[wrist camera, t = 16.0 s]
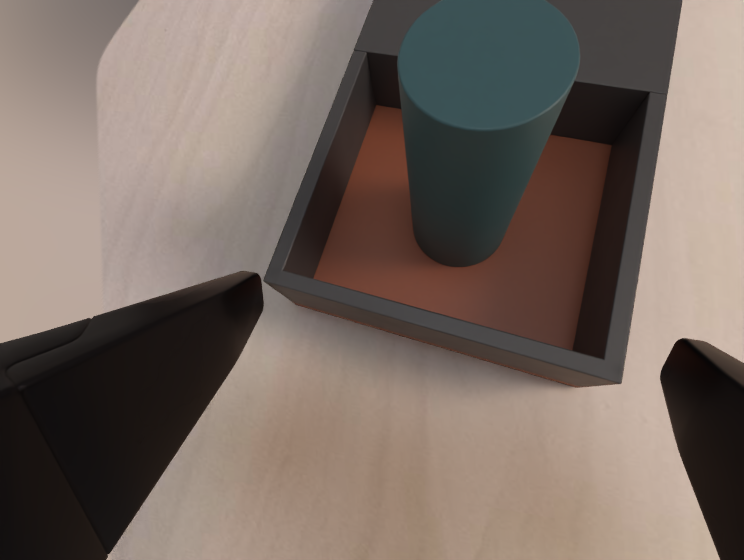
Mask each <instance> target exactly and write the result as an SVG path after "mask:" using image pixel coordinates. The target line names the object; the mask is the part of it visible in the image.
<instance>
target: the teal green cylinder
mask: <svg viewBox="0 0 744 560" xmlns="http://www.w3.org/2000/svg"><path fill="white" fill-rule="evenodd" d="M579 64H580V48H579V43H578V39H577V35H576V33H575V31H574V29H573V27H572V25H571V24H570V22H569V21H568V19H567V18H566V17H565V16H564V15H563V14H562V13H561V12H560V11H559V10H558V9H557V8H556V7H554V6H553V5H552V4H550V3H549V2H547V1H545V0H441V1H439V2H438V3H436V4H435V5H433V6H431V7H430V8H429V9H427V10H426V11H425V12H424V13H422V14H421V15H420V16H419V17H418V18H417V19H416V20H415V21H414V23H413V24H412V25H411V27H410V28H409V29H408V31H407V33H406V34H405V36H404V38H403V41H402V43H401V46H400V49H399V53H398V60H397V69H398V80H399V90H400V100H401V110H402V121H403V131H404V141H405V151H406V161H407V171H408V182H409V192H410V202H411V212H412V222H413V232H414V236H415V239H416V241H417V243H418V245H419V247H420V248H421V249H422V251H423V252H424V253H425V254H426V255H427V256H429V257H430V258H431V259H433V260H434V261H436V262H438V263H441V264H443V265H447V266H452V267H466V266H471V265H475V264H478V263H480V262H482V261H484V260H485V259H487V258H488V257H490V256H491V255H492V254H493V253H494V252H495V251H496V250H497V249H498V247H499V246H500V244H501V242H502V240H503V237H504V235H505V233H506V231H507V229H508V226H509V224H510V222H511V220H512V218H513V215H514V213H515V211H516V209H517V207H518V204H519V202H520V200H521V198H522V196H523V193H524V191H525V189H526V187H527V185H528V182H529V180H530V178H531V176H532V173H533V171H534V169H535V167H536V165H537V162H538V160H539V158H540V156H541V154H542V151H543V149H544V147H545V145H546V143H547V140H548V138H549V136H550V134H551V132H552V129H553V127H554V125H555V123H556V121H557V118H558V116H559V114H560V112H561V109H562V107H563V105H564V103H565V101H566V98H567V96H568V94H569V92H570V90H571V87H572V85H573V83H574V81H575V79H576V76H577V73H578V69H579Z"/></svg>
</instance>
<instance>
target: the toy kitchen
mask: <svg viewBox="0 0 744 560" xmlns="http://www.w3.org/2000/svg"><path fill="white" fill-rule="evenodd" d="M439 1H441V0H373V3H372V5H371V8H370V10H369V13H368V15H367V18H366V20H365V23H364V25H363V28H362V31H361V33H360V36H359V38H358V41H357V43H356V46H355V48H354V51H353V54H352V56H351V59H350V62H349V64H348V67H347V69H346V72H345V74H344V77H343V79H342V82H341V84H340V87H339V89H338V92H337V95H336V97H335V100H334V102H333V105H332V107H331V110H330V112H329V115H328V117H327V120H326V122H325V125H324V127H323V130H322V133H321V135H320V138H319V140H318V143H317V145H316V148H315V150H314V153H313V155H312V158H311V160H310V163H309V166H308V168H307V171H306V173H305V176H304V178H303V181H302V183H301V186H300V188H299V191H298V193H297V196H296V198H295V201H294V204H293V206H292V209H291V211H290V214H289V216H288V219H287V221H286V224H285V226H284V229H283V231H282V234H281V237H280V239H279V242H278V244H277V247H276V249H275V252H274V254H273V257H272V259H271V262H270V264H269V267H268V269H267V272H266V275H265V277H264V280H263V281H264V282H265V283H267V284H268V285H270V286H271V287H272V288H274V289H275V290H277V291H278V292H279V293H281V294H282V295H284V296H285V297H286V298H288V299H289V300H291V301H292V302H293V303H295V304H296V305H299V306H303V307H306V308H309V309H313V310H316V311H320V312H323V313H326V314H330V315H333V316H337V317H340V318H343V319H347V320H350V321H353V322H357V323H360V324H364V325H367V326H370V327H374V328H377V329H380V330H384V331H387V332H391V333H394V334H397V335H401V336H404V337H408V338H411V339H414V340H418V341H421V342H424V343H428V344H431V345H435V346H438V347H441V348H445V349H448V350H451V351H455V352H458V353H462V354H465V355H468V356H472V357H475V358H479V359H482V360H485V361H489V362H492V363H495V364H499V365H502V366H506V367H509V368H512V369H516V370H519V371H522V372H526V373H529V374H533V375H536V376H539V377H543V378H546V379H550V380H553V381H556V382H560V383H563V384H566V385H570V386H573V387H589V386H601V385H613V384H621V383H622V377H623V371H624V364H625V358H626V352H627V345H628V339H629V333H630V326H631V320H632V314H633V308H634V301H635V295H636V289H637V282H638V276H639V270H640V264H641V257H642V251H643V245H644V238H645V232H646V226H647V219H648V213H649V207H650V201H651V194H652V188H653V182H654V175H655V169H656V163H657V157H658V150H659V144H660V138H661V131H662V125H663V119H664V112H665V106H666V100H667V94H668V88H669V82H670V75H671V69H672V63H673V56H674V50H675V44H676V38H677V31H678V25H679V19H680V12H681V6H682V0H545V1H547V2H549V3H550V4H552V5H553V6H554V7H556V8H557V9H558V10H559V11H560V12H561V13H562V14H563V15H564V16H565V17H566V18H567V19H568V21H569V22H570V24H571V25H572V27H573V29H574V31H575V33H576V35H577V39H578V43H579V48H580V64H579V69H578V73H577V76H576V79H575V81H574V83H573V85H572V87H571V90H570V92H569V94H568V96H567V98H566V101H565V103H564V105H563V107H562V109H561V112H560V114H559V116H558V118H557V121H556V123H555V125H554V127H553V129H552V132H551V134H550V136H549V138H548V140H547V143H546V145H545V147H544V149H543V151H542V154H541V156H540V158H539V160H538V162H537V165H536V167H535V169H534V171H533V173H532V176H531V178H530V180H529V182H528V185H527V187H526V189H525V191H524V193H523V196H522V198H521V200H520V202H519V204H518V207H517V209H516V211H515V213H514V215H513V218H512V220H511V222H510V224H509V226H508V229H507V231H506V233H505V235H504V237H503V240H502V242H501V244H500V246H499V247H498V249H497V250H496V251H495V252H494V253H493V254H492V255H491V256H490V257H488V258H487V259H485V260H484V261H482V262H480V263H478V264H475V265H471V266H466V267H452V266H447V265H443V264H441V263H438V262H436V261H434V260H433V259H431V258H430V257H429V256H427V255H426V254H425V253H424V252H423V251H422V249H421V248H420V247H419V245H418V243H417V241H416V239H415V236H414V232H413V222H412V212H411V202H410V192H409V182H408V171H407V161H406V151H405V141H404V131H403V121H402V110H401V100H400V90H399V80H398V69H397V60H398V53H399V49H400V46H401V43H402V41H403V38H404V36H405V34H406V33H407V31H408V29H409V28H410V27H411V25H412V24H413V23H414V21H415V20H416V19H417V18H418V17H419V16H420V15H421V14H422V13H424V12H425V11H426V10H427V9H429V8H430V7H431V6H433V5H435V4H436V3H438V2H439Z"/></svg>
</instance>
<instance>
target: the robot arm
mask: <svg viewBox="0 0 744 560" xmlns="http://www.w3.org/2000/svg"><path fill="white" fill-rule="evenodd" d="M263 306H264V301H263V292H262V283H261V278H260V276H259V275H258V274H257V273H254V272H247V271H240V272H237V273H234V274H230V275H227V276H224V277H221V278H217V279H214V280H211V281H208V282H204V283H201V284H198V285H195V286H191V287H188V288H185V289H182V290H178V291H175V292H172V293H169V294H165V295H162V296H159V297H156V298H152V299H149V300H146V301H143V302H139V303H136V304H133V305H130V306H126V307H123V308H120V309H117V310H113V311H110V312H107V313H104V314H100V315H97V316H94V317H93V318H92V319H90V318H87V319H84V320H81V321H77V322H74V323H71V324H68V325H65V326H61V327H57V328H54V329H51V330H48V331H44V332H41V333H37V334H33V335H30V336H26V337H23V338H19V339H15V340H11V341H8V342H4V343H0V560H106V559H107V558H108V555H107V554H110V553H111V551H112V550H113V548H114V547H115V545H116V544H117V542H118V540H119V539H120V537H121V536H122V534H123V533H124V531H125V530H126V528H127V527H128V525H129V524H130V522H131V521H132V519H133V518H134V516H135V515H136V513H137V512H138V510H139V509H140V507H141V506H142V504H143V503H144V501H145V500H146V498H147V497H148V495H149V494H150V492H151V491H152V489H153V488H154V486H155V485H156V483H157V482H158V480H159V479H160V477H161V476H162V474H163V473H164V471H165V469H166V468H167V466H168V465H169V463H170V462H171V460H172V459H173V457H174V456H175V454H176V453H177V451H178V450H179V448H180V447H181V445H182V444H183V442H184V441H185V439H186V438H187V436H188V435H189V433H190V432H191V430H192V429H193V427H194V426H195V424H196V423H197V421H198V420H199V418H200V417H201V415H202V414H203V412H204V411H205V409H206V408H207V406H208V405H209V403H210V401H211V400H212V398H213V397H214V395H215V394H216V392H217V391H218V389H219V388H220V386H221V385H222V383H223V382H224V380H225V379H226V377H227V376H228V374H229V373H230V371H231V370H232V368H233V367H234V365H235V363H236V362H237V360H238V358H239V356H240V355H241V353H242V351H243V349H244V347H245V345H246V343H247V341H248V339H249V337H250V335H251V333H252V331H253V329H254V327H255V325H256V323H257V321H258V319H259V317H260V315H261V313H262V311H263ZM660 380H661V385H662V389H663V393H664V397H665V401H666V405H667V409H668V413H669V416H670V420H671V424H672V428H673V432H674V436H675V440H676V443H677V447H678V450H679V453H680V456H681V458H682V461H683V464H684V467H685V469H686V472H687V474H688V477H689V480H690V482H691V485H692V487H693V490H694V493H695V495H696V498H697V500H698V503H699V506H700V508H701V511H702V513H703V516H704V519H705V521H706V524H707V526H708V529H709V532H710V534H711V537H712V539H713V542H714V545H715V547H716V550H717V552H718V555H719V558H720V560H744V363H743V362H741V361H739V360H737V359H735V358H734V357H732V356H730V355H728V354H727V353H725V352H723V351H721V350H719V349H718V348H716V347H714V346H712V345H711V344H709V343H707V342H704V341H700V340H693V339H686V338H682V339H680V340H678V341H677V342H676V343H675V344H674V346H673V348H672V350H671V352H670V354H669V356H668V358H667V360H666V362H665V364H664V366H663V368H662V370H661V375H660Z"/></svg>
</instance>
